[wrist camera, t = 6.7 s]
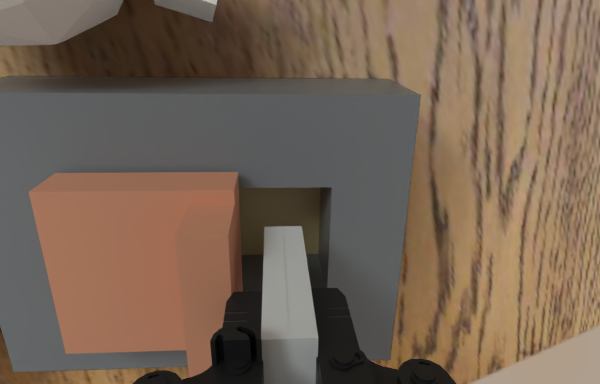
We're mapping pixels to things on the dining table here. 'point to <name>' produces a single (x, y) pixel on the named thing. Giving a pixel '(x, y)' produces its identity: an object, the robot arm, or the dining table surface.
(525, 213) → the dining table surface
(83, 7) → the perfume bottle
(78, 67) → the dining table surface
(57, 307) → the orange l-shaped block
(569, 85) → the dining table surface
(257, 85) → the socket board
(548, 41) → the dining table surface
